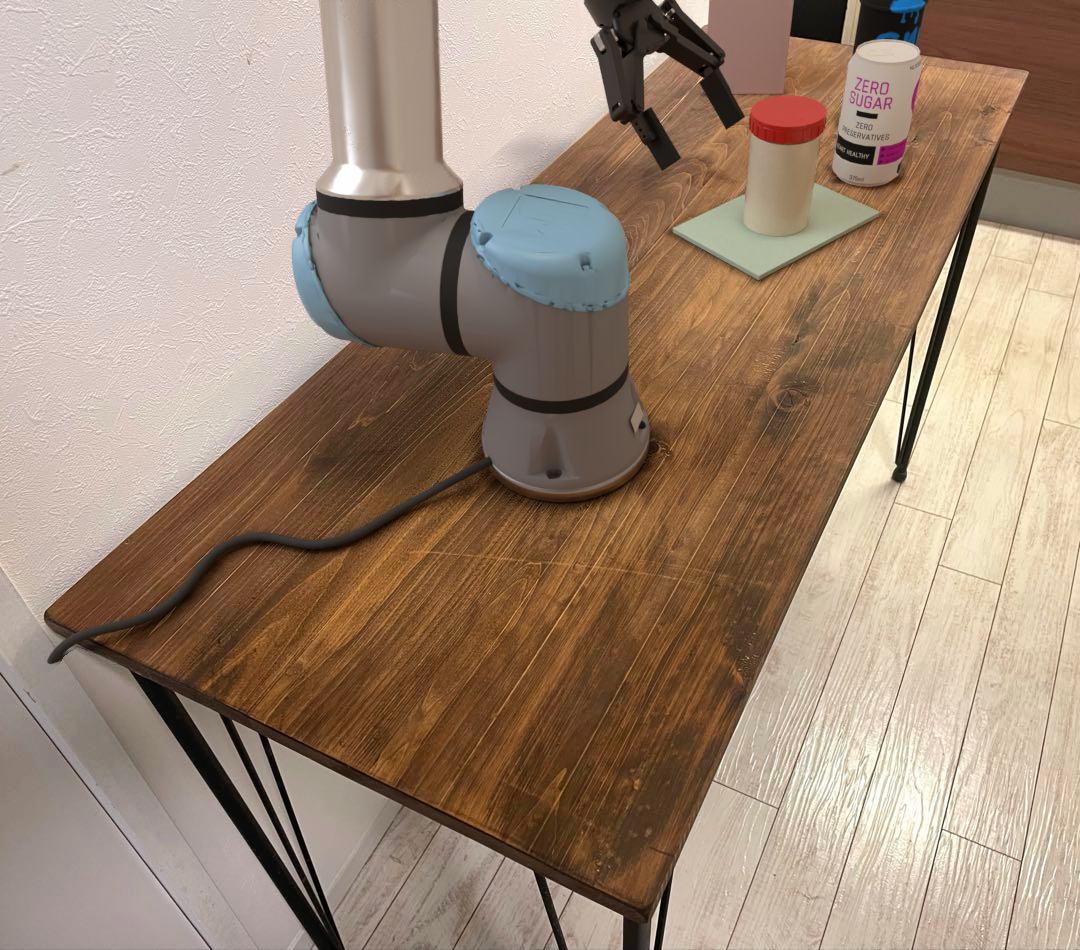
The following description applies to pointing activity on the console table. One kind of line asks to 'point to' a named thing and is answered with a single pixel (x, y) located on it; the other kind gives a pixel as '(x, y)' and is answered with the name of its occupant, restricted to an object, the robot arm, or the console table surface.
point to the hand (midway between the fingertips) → (705, 143)
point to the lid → (787, 119)
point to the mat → (768, 254)
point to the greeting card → (752, 42)
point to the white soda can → (876, 112)
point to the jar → (779, 186)
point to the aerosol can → (889, 20)
